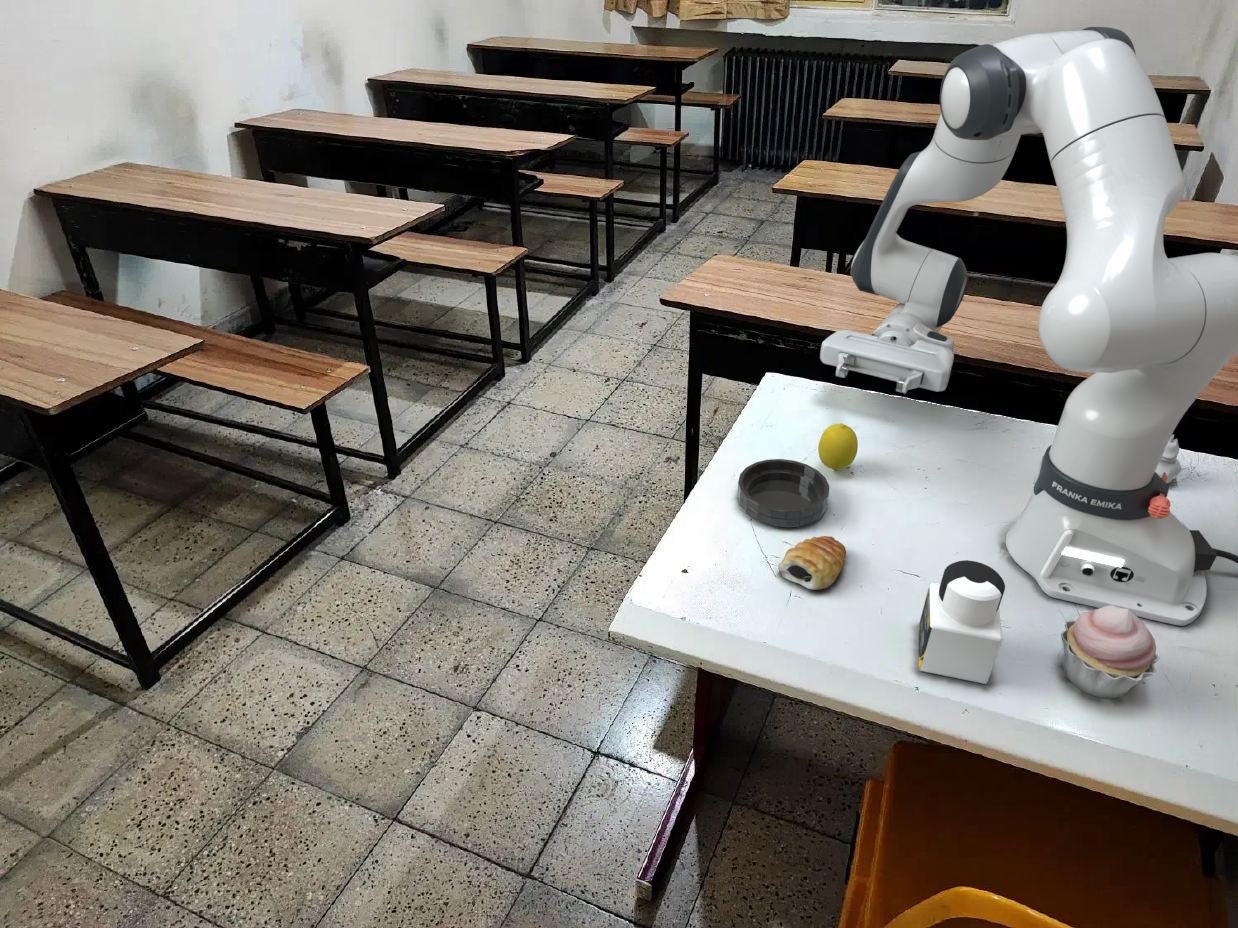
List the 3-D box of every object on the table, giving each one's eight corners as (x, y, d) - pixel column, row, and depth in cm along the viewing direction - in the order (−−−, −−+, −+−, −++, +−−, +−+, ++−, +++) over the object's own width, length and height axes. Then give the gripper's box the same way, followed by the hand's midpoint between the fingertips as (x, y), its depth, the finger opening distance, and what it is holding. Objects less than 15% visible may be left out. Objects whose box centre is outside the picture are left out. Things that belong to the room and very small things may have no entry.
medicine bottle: (917, 626, 95) (938, 547, 89) (983, 638, 94) (1009, 559, 87) (917, 671, 90) (940, 591, 83) (987, 685, 88) (1016, 604, 81)
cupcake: (1164, 704, 85) (1201, 637, 80) (1082, 717, 84) (1113, 649, 79) (1107, 639, 93) (1137, 574, 87) (1031, 649, 92) (1056, 584, 86)
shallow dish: (839, 493, 117) (842, 475, 115) (806, 540, 108) (809, 522, 107) (759, 467, 123) (761, 450, 121) (722, 511, 114) (723, 492, 112)
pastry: (812, 538, 109) (815, 516, 106) (858, 561, 105) (863, 538, 103) (773, 575, 103) (776, 552, 101) (821, 600, 99) (825, 576, 97)
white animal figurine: (1135, 487, 117) (1155, 440, 112) (1127, 462, 122) (1145, 416, 118) (1178, 493, 116) (1200, 446, 111) (1167, 467, 121) (1188, 421, 116)
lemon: (853, 482, 119) (862, 436, 115) (815, 478, 120) (821, 432, 116) (852, 461, 124) (860, 416, 119) (815, 457, 125) (822, 412, 120)
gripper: (839, 314, 137) (808, 346, 128) (965, 341, 128) (941, 378, 119) (834, 348, 141) (803, 381, 131) (956, 377, 132) (932, 415, 122)
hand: (870, 380), depth 125 cm, fingers open, 8 cm apart
